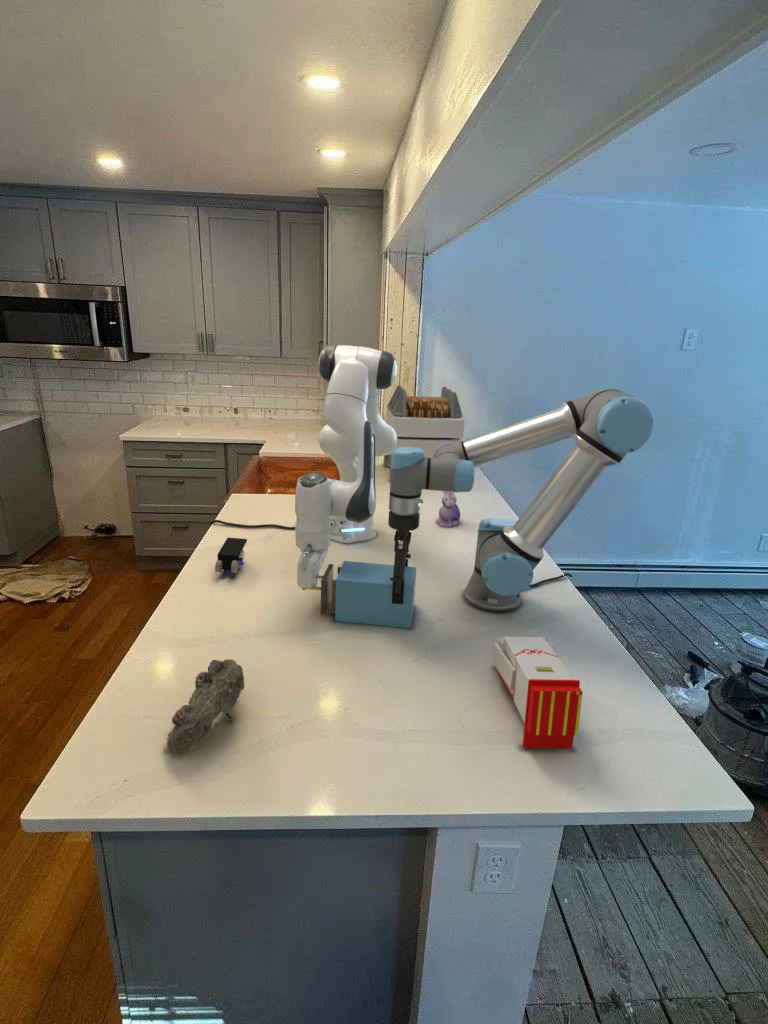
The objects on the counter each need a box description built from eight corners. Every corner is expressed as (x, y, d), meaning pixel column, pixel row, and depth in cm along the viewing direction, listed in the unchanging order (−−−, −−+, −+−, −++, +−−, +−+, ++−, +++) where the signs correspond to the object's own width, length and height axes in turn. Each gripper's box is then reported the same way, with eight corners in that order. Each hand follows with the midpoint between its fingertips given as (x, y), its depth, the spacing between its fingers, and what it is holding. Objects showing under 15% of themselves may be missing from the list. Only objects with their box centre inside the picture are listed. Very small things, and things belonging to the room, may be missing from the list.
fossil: (192, 660, 117) (244, 628, 112) (224, 691, 120) (276, 661, 115) (142, 746, 98) (202, 712, 93) (182, 779, 101) (242, 748, 96)
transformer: (382, 463, 289) (386, 382, 275) (445, 464, 293) (451, 384, 279) (390, 482, 257) (394, 392, 243) (460, 483, 261) (468, 394, 247)
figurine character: (238, 584, 162) (249, 557, 175) (236, 562, 158) (247, 536, 172) (215, 584, 161) (227, 556, 175) (212, 561, 158) (225, 535, 171)
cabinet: (335, 620, 143) (335, 579, 139) (343, 599, 153) (343, 560, 149) (410, 628, 141) (413, 586, 137) (413, 606, 152) (416, 567, 148)
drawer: (300, 613, 144) (300, 578, 141) (309, 594, 153) (309, 561, 150) (391, 621, 142) (393, 586, 139) (395, 602, 151) (396, 569, 148)
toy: (540, 620, 128) (592, 687, 99) (535, 674, 131) (584, 755, 102) (487, 619, 128) (523, 686, 99) (483, 673, 131) (517, 754, 101)
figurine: (445, 529, 206) (449, 489, 200) (430, 519, 214) (433, 481, 209) (467, 525, 210) (470, 487, 205) (451, 516, 218) (454, 479, 213)
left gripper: (316, 555, 132) (316, 608, 137) (332, 524, 151) (332, 571, 156) (290, 553, 133) (291, 605, 137) (309, 522, 152) (309, 569, 156)
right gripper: (417, 530, 126) (411, 616, 133) (422, 497, 148) (416, 573, 155) (383, 527, 126) (379, 613, 134) (393, 495, 148) (389, 570, 156)
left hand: (313, 587), depth 147 cm, fingers closed, pressing on drawer
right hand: (399, 592), depth 144 cm, fingers closed on cabinet, 11 cm apart
